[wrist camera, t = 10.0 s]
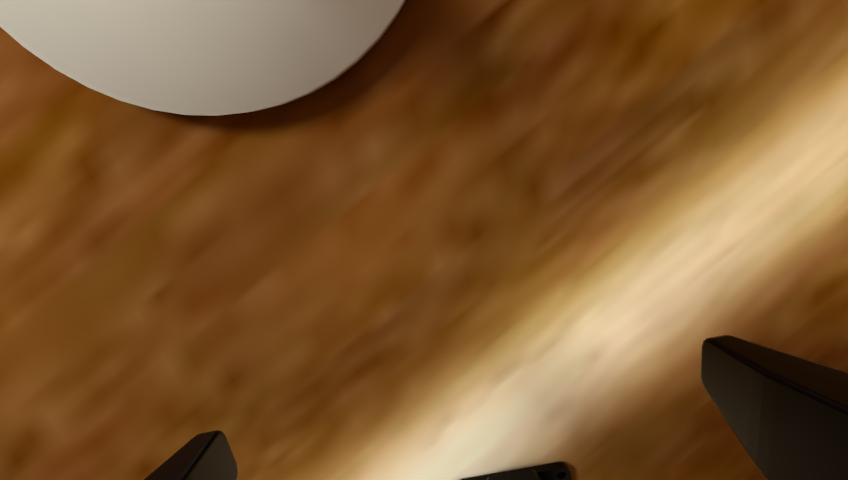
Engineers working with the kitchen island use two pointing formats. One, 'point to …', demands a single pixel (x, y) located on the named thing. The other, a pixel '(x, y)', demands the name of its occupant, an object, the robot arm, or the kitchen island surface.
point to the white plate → (200, 47)
